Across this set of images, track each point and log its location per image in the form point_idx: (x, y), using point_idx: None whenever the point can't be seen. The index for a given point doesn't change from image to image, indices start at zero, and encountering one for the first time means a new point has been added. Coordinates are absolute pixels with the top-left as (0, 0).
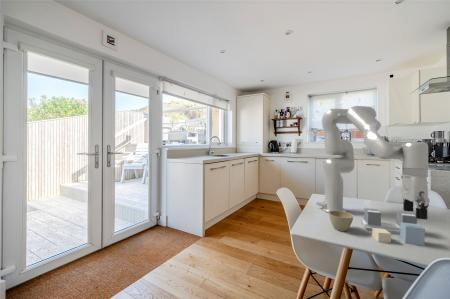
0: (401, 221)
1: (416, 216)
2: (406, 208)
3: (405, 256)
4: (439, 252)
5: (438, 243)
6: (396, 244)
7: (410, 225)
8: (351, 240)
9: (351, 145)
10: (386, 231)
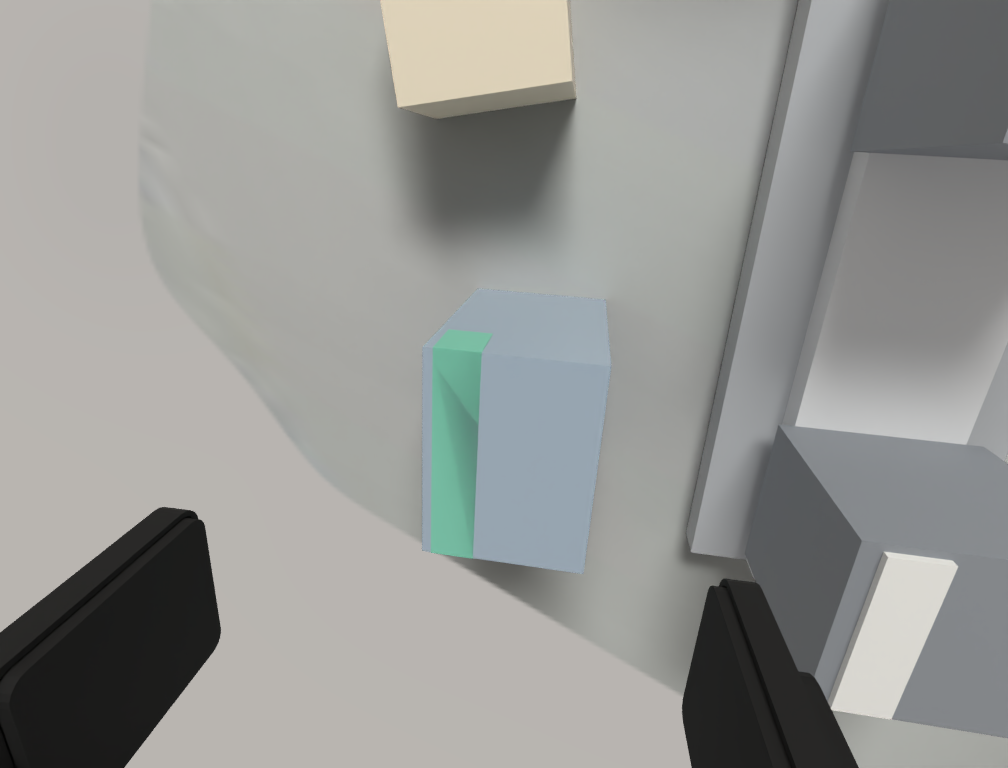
0: (850, 474)
1: (145, 524)
2: (714, 656)
3: (158, 130)
4: (377, 483)
5: (569, 588)
6: (415, 171)
7: (491, 437)
8: None
9: None
10: (463, 68)
